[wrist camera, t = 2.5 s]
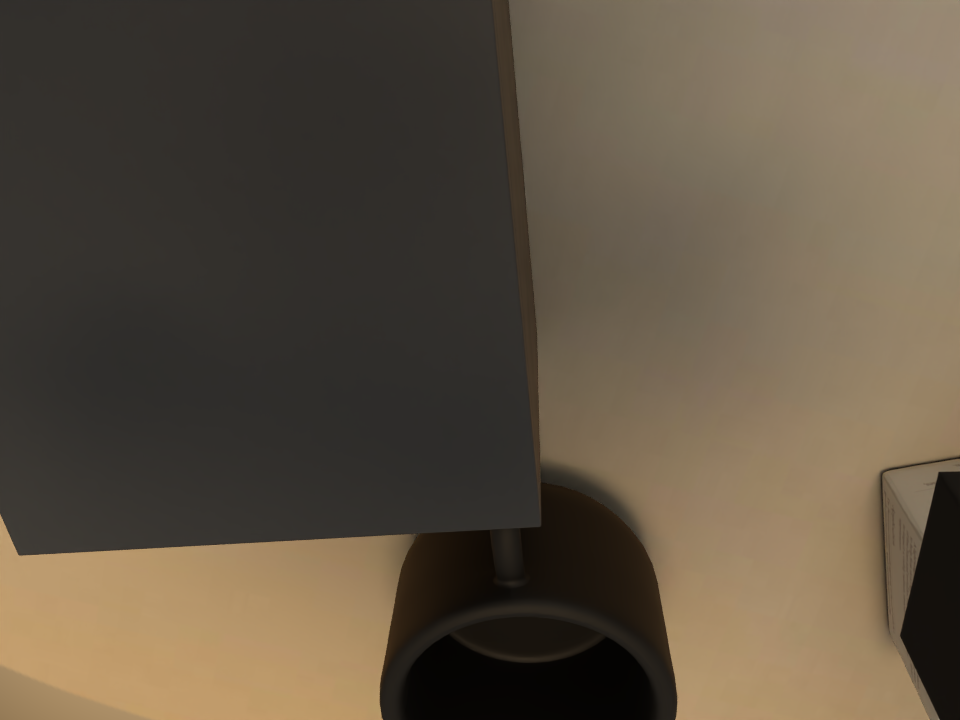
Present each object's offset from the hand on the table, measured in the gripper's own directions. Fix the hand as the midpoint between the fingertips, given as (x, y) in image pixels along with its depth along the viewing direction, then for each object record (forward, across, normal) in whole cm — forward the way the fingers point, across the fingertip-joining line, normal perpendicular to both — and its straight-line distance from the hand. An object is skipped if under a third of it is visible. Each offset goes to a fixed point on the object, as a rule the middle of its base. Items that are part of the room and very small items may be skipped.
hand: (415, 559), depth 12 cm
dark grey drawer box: (+17, -5, +1) cm, 18 cm away
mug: (+17, +1, -13) cm, 22 cm away
